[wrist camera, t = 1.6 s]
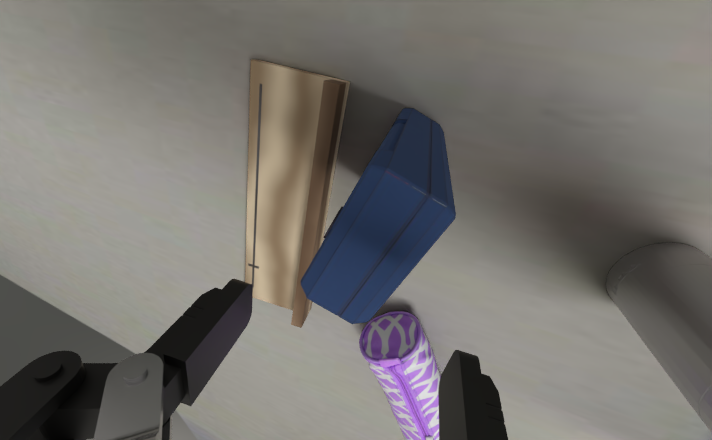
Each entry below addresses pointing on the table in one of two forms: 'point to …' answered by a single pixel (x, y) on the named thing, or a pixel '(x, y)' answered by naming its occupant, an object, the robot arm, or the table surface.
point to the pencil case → (405, 371)
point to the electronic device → (385, 222)
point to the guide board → (289, 177)
